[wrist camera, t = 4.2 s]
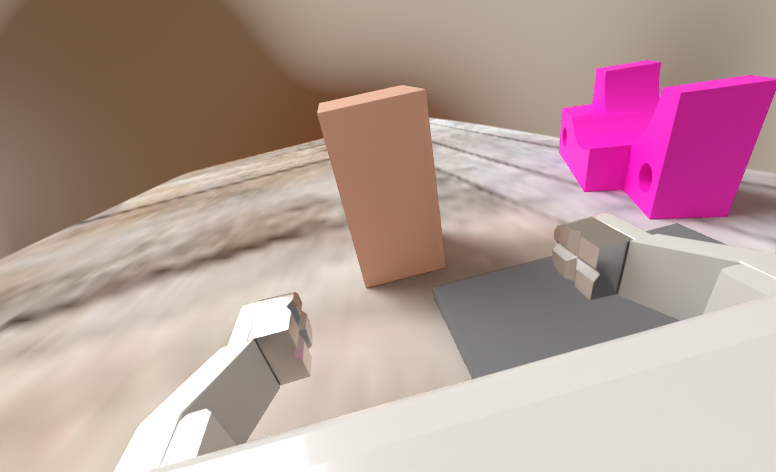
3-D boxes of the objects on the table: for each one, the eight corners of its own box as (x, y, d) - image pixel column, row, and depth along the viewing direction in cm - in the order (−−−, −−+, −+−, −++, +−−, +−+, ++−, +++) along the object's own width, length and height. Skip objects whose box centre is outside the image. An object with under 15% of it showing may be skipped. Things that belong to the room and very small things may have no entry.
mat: (726, 913, 5) (748, 925, 4) (434, 299, 17) (433, 287, 16) (1457, 606, 5) (1529, 591, 5) (673, 235, 18) (677, 223, 17)
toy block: (558, 153, 33) (565, 73, 29) (630, 146, 31) (646, 60, 27) (602, 223, 20) (622, 100, 17) (726, 219, 18) (780, 79, 15)
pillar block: (365, 288, 19) (317, 113, 14) (358, 247, 23) (319, 103, 18) (446, 267, 19) (425, 89, 14) (423, 230, 23) (402, 85, 19)
